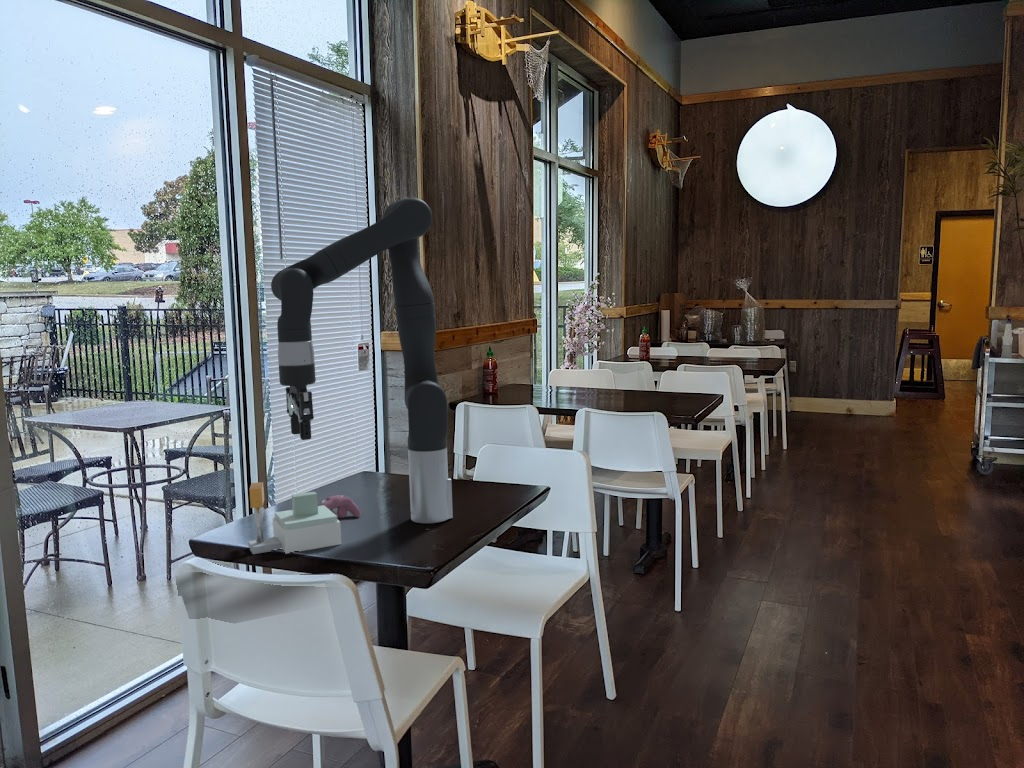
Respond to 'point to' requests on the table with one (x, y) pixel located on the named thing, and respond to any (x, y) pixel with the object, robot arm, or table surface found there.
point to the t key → (257, 508)
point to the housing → (299, 538)
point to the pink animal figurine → (341, 505)
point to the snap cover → (305, 512)
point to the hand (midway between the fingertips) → (301, 436)
